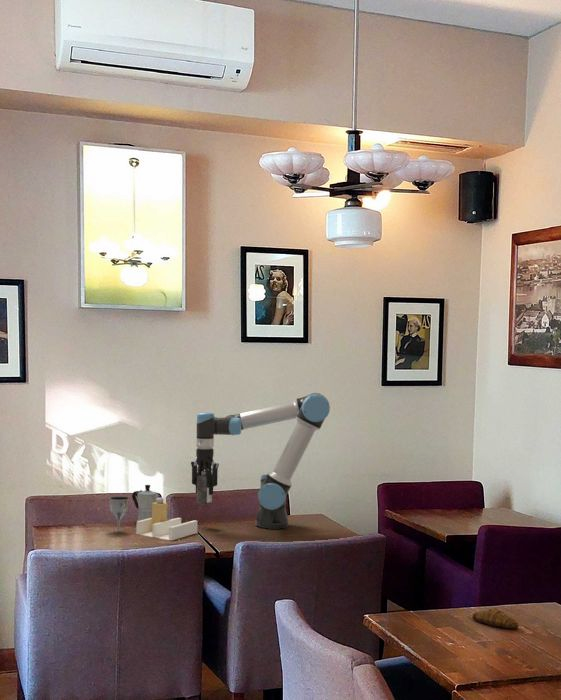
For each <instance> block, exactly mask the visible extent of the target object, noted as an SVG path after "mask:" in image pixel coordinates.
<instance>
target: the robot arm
mask: <svg viewBox="0 0 561 700" xmlns="http://www.w3.org/2000/svg"><path fill="white" fill-rule="evenodd" d="M329 402H330V401H329V400H328V398H327V397H325V395H323V394H321V393H319V392H313V393H310V394H307V395H305V396H302V397H298V398H295V400H294V401H291V402H286V403H281V404H277V405H272V406H268V407H263V408H259V409H254V410H249V411H245V412H239V413H236V414H229V415H226V416H224V417H216V416H215V414H214V412H199V413H197V415H196V449H195V451H196V452H195V455H196V460H194V461H191V462H190V465H191V484H192V485H195V494H197V476H200V475H201V471H205V472H206V475H207V481H208V487H207V503H209V502H211V503H212V502H213V501H212V500H213V499H212V497H213V495H214V488H215V487H217V486H218V474H219V473H218V471H219V466H220V464H219V463H217V462H215V461H214V453H215V452H214V450H215V449H214V447H215V445H214V444H215V443H214V442H215V441H214V439H215V436H217V435H220V436H221V435H222V436H224V435H227V436H237V435H238V436H239V435H241V434H242V430H247V429H252V428H257V427H263V426H267V425H270V424H275V423H280V422H286V421H290V420H294V419H296V424H295V426H294V428H293V430H292V432H291V434H290V436H289V438H288V439H287V442H286V444H285V446H284V448H283V450H282V451H281V454H280V455H279V457H278V459H277V461H276V464H275V465H274V468H273V470H272V471H270V472H268V473H267V474H262V475H261V477H260V479H259V480H260V488H259V490H258V492H257V498H258V502H259V510H258V512H257V516H256V518H255V524H256V525H257V526H259V527H258V528H260V527H262V529H266V528H268V529H269V530H280V528H282V529H286V528H285V527H287V528H289V527H288V526H290V520H289V517H288V513H287V509H286V504H287V503H286V502H287V495H288V493H289V491H290V490H291V488H292V486H293V484H292V482H291V480H292V478H293V475H294V474H295V472H296V469H297V468H298V465H299V464H300V462H301V459H302V458H303V456H304V454H305V452H306V450H307V448H308V445H309V444H310V442H311V440H312V438H313V436H314V434H315V433H316V431H317V430H320V429H321V427H322V425H323V423H324V421H325V419H326V418H327V417H328V416H329V414H330V410H331V408H330V407H331V406H330V403H329ZM256 525H255V526H256ZM257 526H256V527H257Z"/></svg>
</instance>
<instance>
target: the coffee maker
mask: <svg viewBox="0 0 561 700" xmlns="http://www.w3.org/2000/svg"><path fill="white" fill-rule="evenodd" d="M144 486H145V490H143V489H141V490H136V491H133V493H132V495H131V497H132V498H131V499H132V500H133V502H134V506H135V507H136V509H139V511H138V517H137V521H140V520H144V519H149V518H152V503H156V498H159V495H158V492H157V491H156V492H155V491H153V490H150V488H151V484H145V485H144Z"/></svg>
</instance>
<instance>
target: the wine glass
mask: <svg viewBox="0 0 561 700" xmlns="http://www.w3.org/2000/svg"><path fill="white" fill-rule="evenodd" d="M129 505H130V497H129V496H124V495H121V496H120V495H118V496H117V495H115V496H110V497H109V509H110V511H111V514H113V516H114V517H115V519H116V522H117V530H116V533H120V532H121V530H120V524H121V521H122V518H123V517H124V516H125V514H126V513H127V512H128V510H129Z"/></svg>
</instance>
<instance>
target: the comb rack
mask: <svg viewBox="0 0 561 700" xmlns="http://www.w3.org/2000/svg"><path fill="white" fill-rule="evenodd" d="M151 526H152V518H149V519H144V520H140V521H138V520H137V521H136V529H135V531H136V533H135V535H139V536H140V535H141V536H145V537H150V538H156V539H161V540H166V541H167V540H168V541H175V540H177V539H181V538H184V537H185V538H186V537H188V536H191V535H194V534H198V520H191V521H186V522H183V523H182V518H181V517H176V518H170V519H167V521H163V522H159V523H156V524H153V531H152V532H151Z"/></svg>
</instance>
